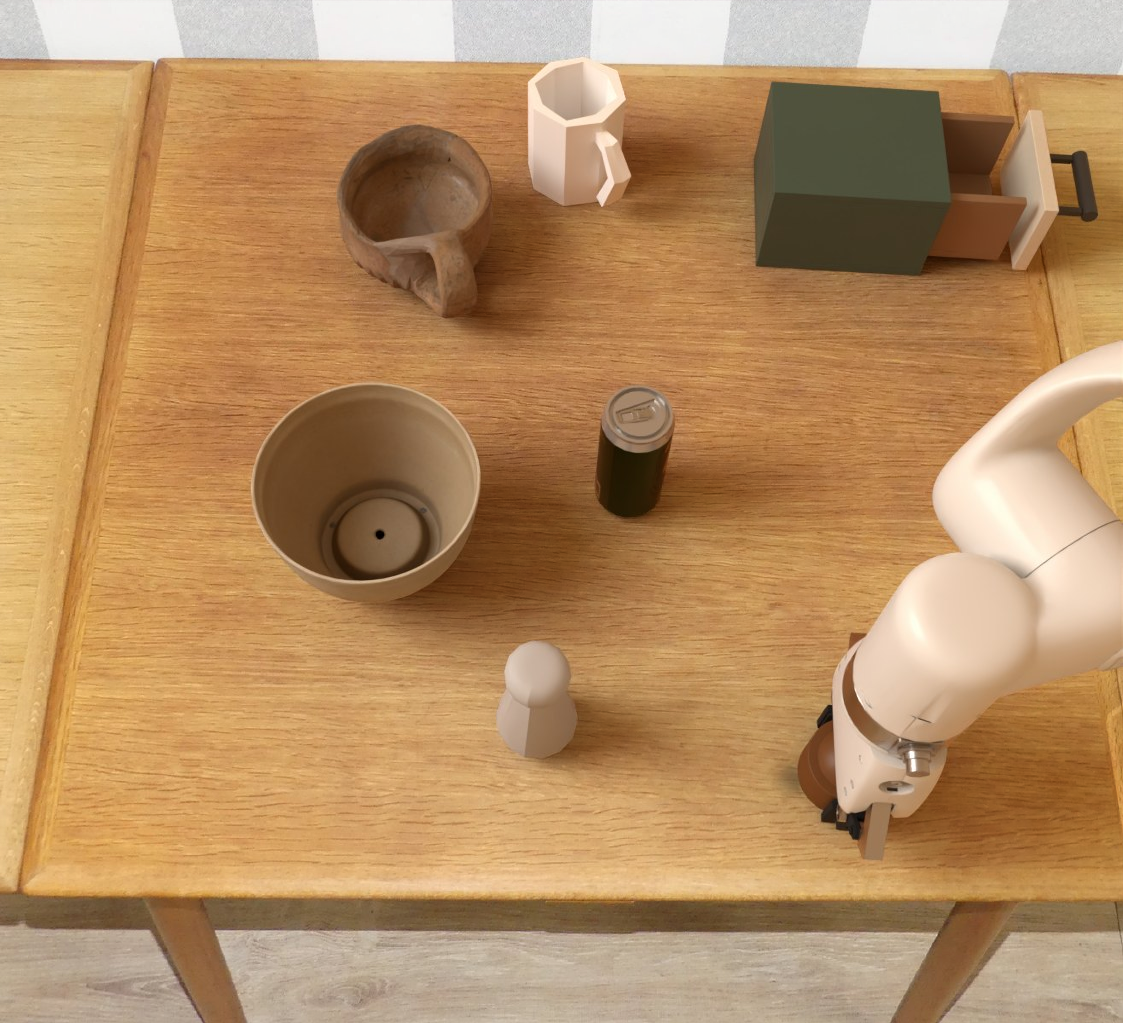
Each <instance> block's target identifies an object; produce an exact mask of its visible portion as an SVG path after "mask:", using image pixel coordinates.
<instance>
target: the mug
mask: <svg viewBox="0 0 1123 1023" xmlns="http://www.w3.org/2000/svg"><path fill="white" fill-rule="evenodd" d="M626 100H627V98H626V95H625V92H624V88H623V84H622V81H621V78H620V74H619V71H618V70H617V69H614V68H612V67H611V66H607V65H605V64H602V63H600V62H598V61H596V60H593V59H590V58H588V57H586V56H582V57H581V56H580V57H576V58H568V59H563V60H555V61H550V62H548V63H547V64H545V66H544V67H543V68H542V69H541V70H540V71H539V72H537V73H536V74H535V75H534V76H533V77H532V78H531V79H529V81H527V155H528V156H527V164H528V168H529V169H528V170H529V174H530V179H531V183H532V188H533V190H535V191H536V192H538V193H540V194H542V195H543V196H545V197H547V198H549V199H550V200H552V201H553V202H555V203H557V204H559V205H561V206H563V207H568V206H569V207H570V206H575V205H576V206H577V205H584V204H593V203H597V202H598V203H599V205H600V206H601V208H604V207H607V206H609V205H612V204H614V203H615V202H618V201H620V200H621V199H622V197H623V195H624V193H625V191H626V189H627V187H628V184H629V182H630V180H631V178H632V174H631V171H630V169H629V165H628V163H627V161H626V159H625V155H624V153H623V150H622V148H623V147H622V146H623V134H624V125H625V124H624V123H625V114H626V113H625V112H626V104H627V103H626Z"/></svg>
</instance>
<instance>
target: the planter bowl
mask: <svg viewBox="0 0 1123 1023" xmlns="http://www.w3.org/2000/svg"><path fill="white" fill-rule="evenodd" d="M481 487H482V474H481V464H480V459H479V456H478V452H477V449H476V446H475V444H474V442H473V439H472V437H471V435H470V434H469V432H468V430H467V429H466V427H465V426H464V425H463V423H462V422H461V421H460V420H459V419H458V418H457V416H456V415H455V414H454V413H452V412H451V410H450V409H448V407H446V406H445V405H444V404H442V403H440V402H439V401H438V400H436V399H435V398H433V397H431V396H429V395H427V394H425V393H423V392H422V391H419V390H417V389H414V388H411V387H407V386H404V385H399V384H393V383H387V382H376V381H375V382H374V381H373V382H371V381H370V382H369V381H368V382H355V383H354V382H353V383H350V384H345V385H344V384H343V385H340V386H335V387H332V388H329V389H327V390H324V391H322V392H319V393H317V394H315V395H313V396H311V397H309V398H308V399H306V400H304V401H302V402H300V403H299V404H297V405H296V406H294V407H293V408H291V410H289V411H288V412H287V413H286V414H285V415H284V416H282V417H281V418H280V420H278V422H277V423H276V424H275V425H274V426H273V427H272V429H271V430H270V431H269V433H268V434H267V436H266V437H265V439H264V440H263V442H262V444H261V445H260V448H259V450H258V452H257V455H256V458H255V462H254V465H253V468H252V473H251V479H250V498H251V505H252V509H253V510H252V511H253V513H254V517H255V520H256V523H257V525H258V527H259V529H260V530H261V533H262V534H263V536H264V538H265V540H266V541H267V542H268V544H269V545H270V547H271V548H272V549H273V550H274V551H275V553H276V554H277V555H278V556H279V557H280V559H281V560H282V561H283V562H284V563H285V564H286V565H287V567H288V568H289V569H290V570H291V571H292V572H293V573H294V574H295V575H297V576H298V577H299V578H300V579H301V580H302V581H304V582H305V583H307V584H308V585H310V586H311V587H313V588H314V589H317V590H318V591H320V592H322V593H324V594H326V595H329V596H331V597H335V598H338V599H341V600H345V601H350V602H356V603H371V604H372V603H383V602H384V603H385V602H390V601H394V600H398V599H401V598H405V597H407V596H410V595H412V594H415V593H417V592H419V591H421V590H422V589H425V588H426V587H427V586H429V585H431V584H432V583H433V582H435V581H437V579H439V577H441V576H442V575H443V574H444V573H445V572H446V571H447V570H448V569H449V568H450V567H451V566H452V564H453V563H454V562H455V560H456V559H457V558H458V556H459V555H460V553H461V552H462V550H463V548H464V546H465V545H466V543H467V541H468V539H469V537H470V534H471V531H472V528H473V526H474V521H475V519H476V513H477V509H478V505H479V501H480V496H481ZM379 531H381V532H383V534H384V535H383V537H382V538H381V539H379V538H378V537H377V532H379Z"/></svg>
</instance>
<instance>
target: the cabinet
mask: <svg viewBox="0 0 1123 1023" xmlns="http://www.w3.org/2000/svg"><path fill="white" fill-rule="evenodd" d="M941 107H942V106H941V99H940V91H938V90H925V89H908V88H907V89H905V88H890V87H872V86H871V87H870V86H857V85H856V86H855V85H841V84H840V85H837V84H821V83H804V82H803V83H802V82H788V81H787V82H785V81H771V82H770V87H769V90H768V95H767V99H766V104H765V108H764V113H763V118H762V122H761V126H760V130H759V134H758V135H759V136H758V138H757V144H756V149H755V152H754V157H753V187H754V188H753V191H754V192H753V193H754V195H753V196H754V199H753V200H754V244H755V249H754V250H755V267H763V268H764V267H766V268H780V269H781V268H783V269H796V270H797V269H799V270H815V271H830V272H831V271H834V272H846V273H847V272H848V273H849V272H850V273H864V274H865V273H867V274H880V275H881V274H883V275H900V276H915V277H916V276H917V277H920V274H921V272H922V269H923V267H924V265H925V263H926V261H927V258H928V257H929V256H928V254H929V252H930V250H931V247H932V245H933V243H934V241H935V238H936V236H937V234H938V232H939V229H940V227H941V225H942V223H943V220H944V218H945V216H946V214H947V211H948V209H949V207H950V205H951V203H952V201H951V192H950V184H949V175H948V167H947V158H946V149H945V141H944V132H943V123H942V115H941V112H942V108H941Z"/></svg>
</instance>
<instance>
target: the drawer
mask: <svg viewBox="0 0 1123 1023" xmlns="http://www.w3.org/2000/svg"><path fill="white" fill-rule="evenodd" d="M941 115H942V123H943V132H944V141H945V149H946V158H947V167H948V175H949V184H950V192H951V201H952V203H951V205H950V207H949V209H948V211H947V214H946V216H945V218H944V220H943V223H942V225H941V227H940V229H939V232H938V234H937V236H936V238H935V241H934V243H933V245H932V247H931V250H930V252H929V254H928V256H927V257H942V258H958V259H975V260H992V261H998V260H999V259H1000V256H1001V254H1002V253H1003V251H1004V249H1005V247H1006V245H1007V243H1008V247H1009V253H1010V260H1011V268H1012V270H1016V271H1017V270H1018V271H1019V270H1020V271H1026V270H1027V268H1028V267H1029V265H1030V263H1031V261H1032V260H1033V257H1035V255H1036V252H1037V251H1038V249H1039V248H1040V246H1041V244H1042V242H1043V240H1044V239H1045V237H1046V235H1047V234H1048V231H1049V230H1050V228H1051V226H1052V225H1053V224H1054V223H1053V222H1054V221H1055V219H1056V218H1057V216H1058V217H1059V216H1060V217H1073V218H1074V217H1075V218H1080V220H1081V221H1082V222H1084V223H1090V222H1091V223H1092V222H1093V221H1096V220H1097V219H1098V217H1099V210H1098V205H1097V199H1096V194H1095V189H1094V183H1093V178H1092V173H1091V168H1090V162H1089V156H1088V153H1087V152H1086V150H1076V151H1074V152H1072V153H1071V154H1063V153H1050V149H1049V143H1048V136H1047V130H1046V129H1047V128H1046V124H1045V118H1044V113H1043V110H1041V109H1028V111H1027V113H1026V115H1025V117H1024V120H1023V121H1022V124H1021V126H1020V128H1019V129H1018V132H1017V134H1016V136H1015V138H1014V139H1013V142H1012V144H1011V147H1010V148H1009V151H1008V153H1007V155H1006V157H1005V159H1004V161H1003V163H1002V165H1001V167H1000V169H999V171H998V174H999V176H998V177H999V183H1000V189H1001V195H994V194H993V188H992V181H991V174H992V172H993V169H994V167H995V166H996V163H997V161H998V159H999V157H1000V154H1001V153H1002V151H1003V149H1004V146H1005V144H1006V142H1007V140H1008V138H1009V136H1010V135H1011V132H1012V129H1013V127H1014V125H1015V122H1016V121H1015V117H1014V116H1013V115H998V114H997V115H996V114H981V113H980V114H978V113H964V112H963V113H962V112H943V111H941ZM1052 164H1059V165H1071V170H1072V177H1073V182H1074V188H1075V193H1076V199H1077V204H1078V206H1064V205H1059V202H1058V196H1057V190H1056V183H1055V177H1054V171H1053V165H1052Z"/></svg>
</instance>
